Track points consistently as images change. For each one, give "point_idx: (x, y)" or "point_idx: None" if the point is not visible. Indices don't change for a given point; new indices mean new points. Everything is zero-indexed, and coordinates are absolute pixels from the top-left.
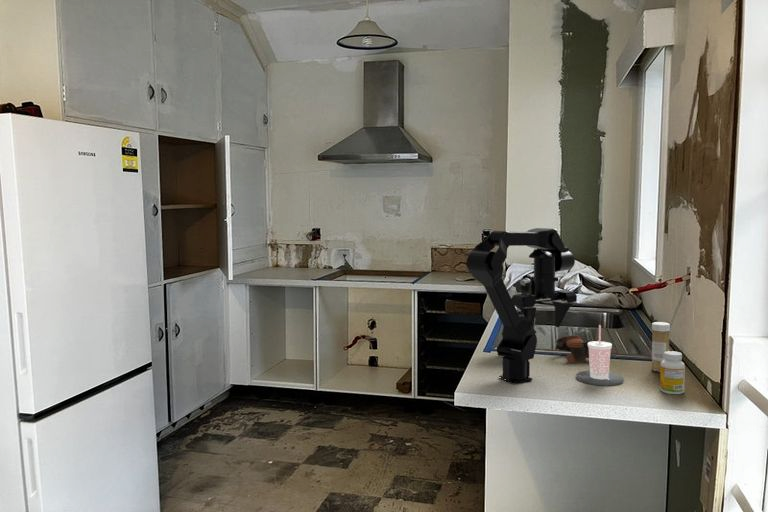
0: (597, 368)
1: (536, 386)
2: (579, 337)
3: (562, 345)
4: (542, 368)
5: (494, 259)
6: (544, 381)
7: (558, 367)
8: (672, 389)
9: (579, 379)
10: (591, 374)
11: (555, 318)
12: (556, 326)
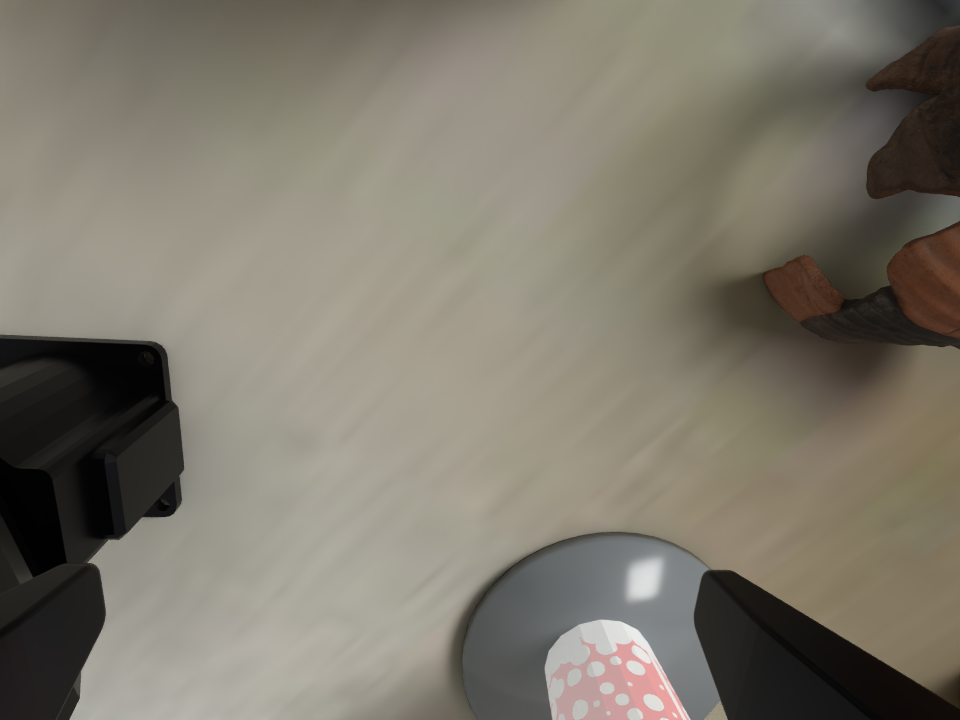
0: None
1: (139, 597)
2: None
3: (893, 193)
4: (465, 299)
5: None
6: (256, 545)
7: (591, 342)
8: None
9: (467, 635)
10: (551, 670)
11: (808, 690)
12: (700, 598)
